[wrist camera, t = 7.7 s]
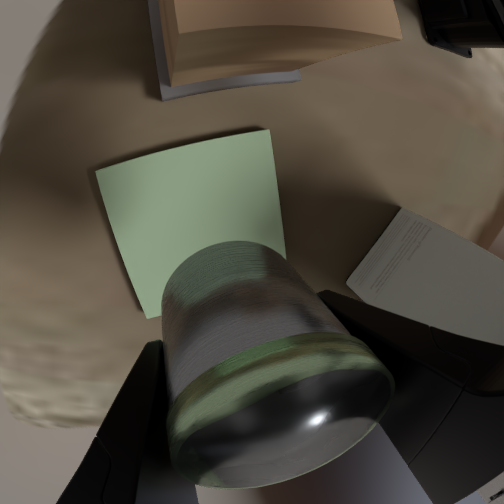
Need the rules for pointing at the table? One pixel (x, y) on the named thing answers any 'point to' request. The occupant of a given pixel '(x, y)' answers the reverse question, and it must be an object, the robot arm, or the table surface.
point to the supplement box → (434, 279)
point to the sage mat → (190, 205)
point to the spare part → (260, 371)
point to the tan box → (258, 39)
